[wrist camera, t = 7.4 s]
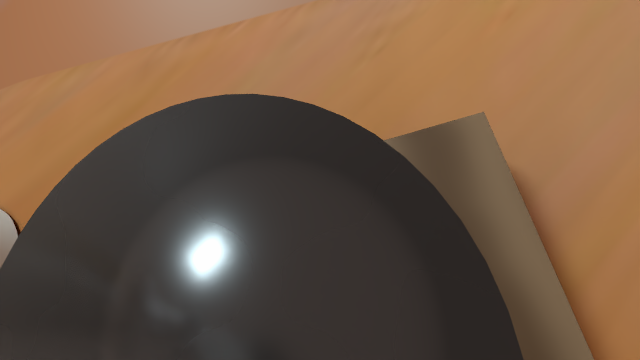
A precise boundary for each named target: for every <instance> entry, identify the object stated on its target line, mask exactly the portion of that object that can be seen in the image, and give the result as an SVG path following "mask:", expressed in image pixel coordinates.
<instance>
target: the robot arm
mask: <svg viewBox="0 0 640 360" xmlns="http://www.w3.org/2000/svg"><path fill="white" fill-rule="evenodd" d="M17 238H18V235H17V230H16V227H15V225H14V223H13V221H12V219H11V218H10V216H9V215H8V214H7V213H6V212H4V211H3V210H1V209H0V268H1V266H2V264H3V263H4V261H5V259H6V257H7V256H8V254H9V252H10V250H11V248H12V247H13V245H14V243H15V241H16V239H17Z"/></svg>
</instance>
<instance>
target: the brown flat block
mask: <svg viewBox="0 0 640 360" xmlns="http://www.w3.org/2000/svg"><path fill="white" fill-rule="evenodd" d="M384 142H386V143H387V144H388V145H390V146H391V147H392V148H394V149H395V150H396V151H398V152H399V153H400V154H402V155H403V156H404V157H405V158H406V159H407V160H408V161H409V162H410V163H412V164H413V165H414V166H415V167H416V168H417V169H418V170H419V171H420V172H421V173H422V174H423V175H424V176H425V177H426V178H427V179H428V180H429V181H430V182H431V183H432V184H433V185H434V186H435V188H436V189H437V190H438V191H439V193H440V194H441V195H442V196H443V198H444V199H445V200H446V201H447V203H448V204H449V205H450V207H451V208H452V209H453V210H454V212H455V213H456V214H457V215H458V217H459V218H460V219H461V220H462V222H463V224H464V225H465V227H466V229H467V230H468V232H469V234H470V235H471V237H472V239H473V240H474V242H475V244H476V245H477V247H478V249H479V250H480V252H481V254H482V255H483V257H484V259H485V260H486V262H487V264H488V266H489V268H490V271H491V273H492V275H493V277H494V280H495V282H496V284H497V286H498V288H499V291H500V293H501V295H502V297H503V300H504V302H505V304H506V306H507V308H508V311H509V314H510V317H511V320H512V324H513V327H514V330H515V333H516V336H517V340H518V343H519V346H520V349H521V352H522V356H523V359H524V360H594V358H593V356H592V354H591V351H590V349H589V347H588V345H587V342H586V340H585V338H584V336H583V333H582V331H581V329H580V327H579V324H578V322H577V320H576V318H575V315H574V313H573V311H572V309H571V306H570V304H569V302H568V300H567V297H566V295H565V293H564V291H563V288H562V286H561V284H560V282H559V280H558V277H557V275H556V273H555V271H554V268H553V266H552V264H551V262H550V259H549V257H548V255H547V253H546V250H545V248H544V246H543V244H542V241H541V239H540V237H539V235H538V232H537V230H536V228H535V226H534V223H533V221H532V219H531V217H530V214H529V212H528V210H527V208H526V205H525V203H524V201H523V199H522V196H521V194H520V192H519V190H518V187H517V185H516V183H515V181H514V178H513V176H512V174H511V172H510V170H509V167H508V165H507V163H506V161H505V158H504V156H503V154H502V152H501V149H500V147H499V145H498V143H497V140H496V138H495V136H494V134H493V131H492V129H491V127H490V125H489V122H488V120H487V118H486V116H485V113H484V112H482V113H478V114H475V115H471V116H468V117H464V118H461V119H457V120H454V121H450V122H447V123H443V124H440V125H436V126H433V127H429V128H426V129H422V130H419V131H416V132H412V133H409V134H405V135H402V136H398V137H395V138H391V139H388V140H384Z"/></svg>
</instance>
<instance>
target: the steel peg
mask: <svg viewBox="0 0 640 360" xmlns="http://www.w3.org/2000/svg"><path fill="white" fill-rule="evenodd" d="M0 360H524V359H523V356H522V352H521V349H520V346H519V343H518V340H517V336H516V333H515V330H514V327H513V324H512V320H511V317H510V314H509V311H508V308H507V306H506V304H505V302H504V300H503V297H502V295H501V293H500V291H499V288H498V286H497V284H496V282H495V280H494V277H493V275H492V273H491V271H490V268H489V266H488V264H487V262H486V260H485V259H484V257H483V255H482V254H481V252H480V250H479V249H478V247H477V245H476V244H475V242H474V240H473V239H472V237H471V235H470V234H469V232H468V230H467V229H466V227H465V225H464V224H463V222H462V220H461V219H460V218H459V217H458V215H457V214H456V213H455V212H454V210H453V209H452V208H451V207H450V205H449V204H448V203H447V201H446V200H445V199H444V198H443V196H442V195H441V194H440V193H439V191H438V190H437V189H436V188H435V186H434V185H433V184H432V183H431V182H430V181H429V180H428V179H427V178H426V177H425V176H424V175H423V174H422V173H421V172H420V171H419V170H418V169H417V168H416V167H415V166H414V165H413V164H412V163H410V162H409V161H408V160H407V159H406V158H405V157H404V156H403V155H402V154H400V153H399V152H398V151H396V150H395V149H394V148H392V147H391V146H390V145H388V144H387V143H386V142H384V141H383V140H382V139H380V138H379V137H378V136H376V135H375V134H374V133H372V132H370V131H368V130H367V129H365V128H363V127H361V126H359V125H358V124H356V123H354V122H352V121H351V120H349V119H347V118H345V117H343V116H341V115H338V114H336V113H333V112H331V111H328V110H326V109H323V108H321V107H318V106H316V105H313V104H309V103H305V102H301V101H297V100H293V99H289V98H285V97H277V96H268V95H259V94H231V95H220V96H213V97H206V98H200V99H195V100H192V101H188V102H185V103H181V104H177V105H174V106H171V107H168V108H166V109H163V110H161V111H158V112H156V113H154V114H151V115H149V116H146V117H144V118H142V119H141V120H139V121H137V122H135V123H133V124H132V125H130V126H128V127H126V128H124V129H122V130H121V131H119V132H118V133H116V134H115V135H113V136H112V137H111V138H109V139H108V140H106V141H105V142H103V143H102V144H101V145H99V146H98V147H96V148H95V149H94V150H93V151H92V152H91V153H89V154H88V155H87V156H86V157H85V158H84V159H82V160H81V161H80V162H79V163H78V164H77V165H75V166H74V168H73V169H72V170H71V171H70V172H69V173H68V174H67V175H66V176H65V177H64V178H63V179H62V180H61V181H60V182H59V183H58V184H57V185H56V186H55V187H54V188H53V190H52V191H51V192H50V193H49V195H48V196H47V197H46V198H45V200H44V201H43V202H42V203H41V205H40V206H39V207H38V208H37V210H36V211H35V212H34V214H33V215H32V217H31V218H30V220H29V221H28V223H27V224H26V226H25V227H24V229H23V230H22V232H21V233H20V235H19V236H18V238H17V239H16V241H15V243H14V245H13V247H12V248H11V250H10V252H9V254H8V256H7V257H6V259H5V261H4V263H3V264H2V266H1V268H0Z"/></svg>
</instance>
